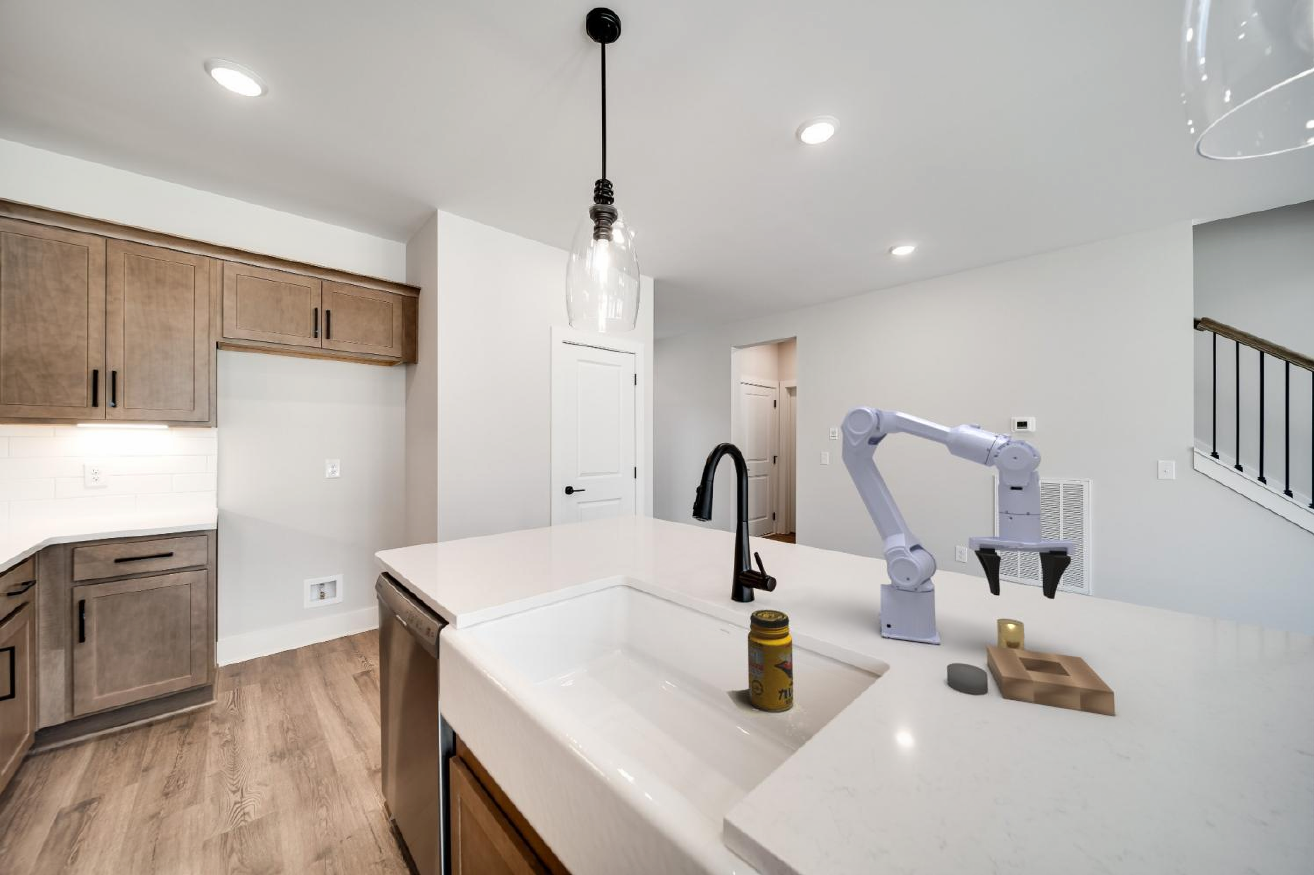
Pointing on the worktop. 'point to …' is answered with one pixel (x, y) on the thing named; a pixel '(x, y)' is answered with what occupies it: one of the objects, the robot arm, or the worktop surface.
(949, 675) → the flat gray river rock
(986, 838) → the worktop surface
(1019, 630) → the brass cylinder plug
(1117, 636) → the worktop surface
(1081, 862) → the worktop surface
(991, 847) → the worktop surface
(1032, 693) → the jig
